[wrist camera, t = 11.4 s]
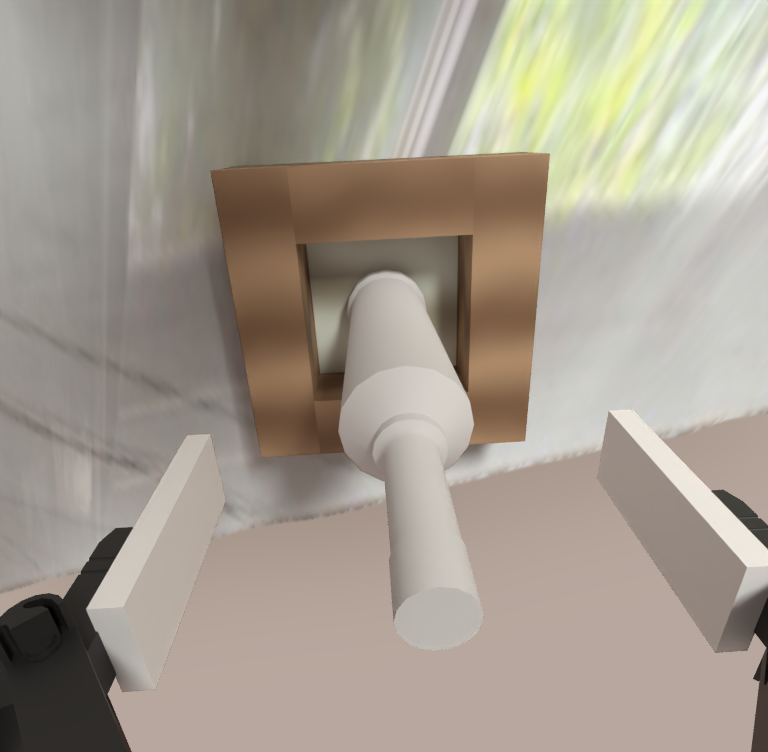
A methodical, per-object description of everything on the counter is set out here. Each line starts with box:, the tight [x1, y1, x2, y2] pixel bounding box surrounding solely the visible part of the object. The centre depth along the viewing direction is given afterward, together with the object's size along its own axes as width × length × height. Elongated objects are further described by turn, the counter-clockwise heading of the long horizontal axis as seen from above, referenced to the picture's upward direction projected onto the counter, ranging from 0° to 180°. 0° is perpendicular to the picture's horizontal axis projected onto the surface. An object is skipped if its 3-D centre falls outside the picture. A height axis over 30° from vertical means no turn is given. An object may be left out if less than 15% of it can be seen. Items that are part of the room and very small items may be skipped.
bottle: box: [338, 269, 484, 651], centre depth 23 cm, size 5×5×25 cm
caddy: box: [211, 152, 550, 457], centre depth 33 cm, size 18×18×5 cm
